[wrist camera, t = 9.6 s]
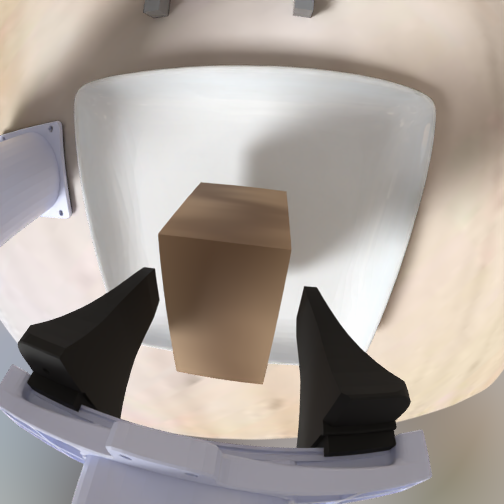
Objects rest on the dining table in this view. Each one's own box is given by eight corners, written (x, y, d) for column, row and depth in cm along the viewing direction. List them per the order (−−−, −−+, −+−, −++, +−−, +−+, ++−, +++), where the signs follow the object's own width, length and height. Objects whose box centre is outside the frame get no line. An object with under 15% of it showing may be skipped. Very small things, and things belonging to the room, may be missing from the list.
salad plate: (97, 85, 14) (66, 86, 11) (416, 95, 13) (443, 97, 10) (135, 319, 25) (122, 344, 22) (354, 338, 24) (361, 367, 21)
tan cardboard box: (200, 299, 18) (176, 371, 13) (200, 182, 14) (157, 233, 9) (267, 308, 18) (262, 384, 13) (286, 191, 14) (291, 249, 9)
